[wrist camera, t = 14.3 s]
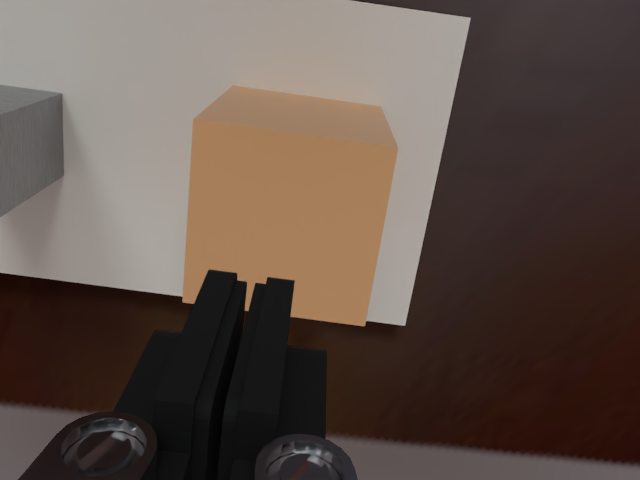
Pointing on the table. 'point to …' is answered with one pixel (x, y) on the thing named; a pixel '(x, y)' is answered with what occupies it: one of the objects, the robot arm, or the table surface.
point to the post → (29, 143)
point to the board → (190, 100)
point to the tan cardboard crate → (290, 198)
